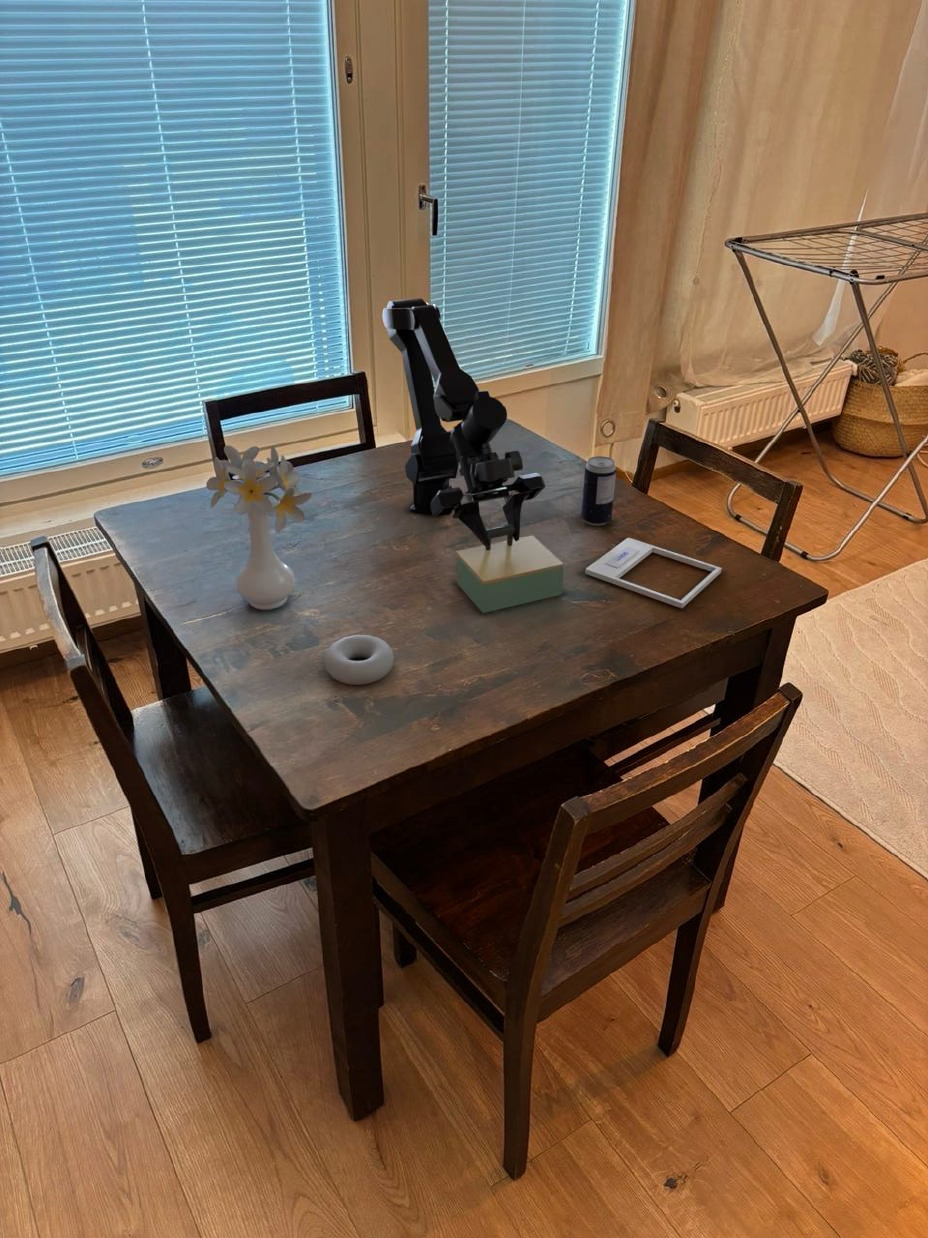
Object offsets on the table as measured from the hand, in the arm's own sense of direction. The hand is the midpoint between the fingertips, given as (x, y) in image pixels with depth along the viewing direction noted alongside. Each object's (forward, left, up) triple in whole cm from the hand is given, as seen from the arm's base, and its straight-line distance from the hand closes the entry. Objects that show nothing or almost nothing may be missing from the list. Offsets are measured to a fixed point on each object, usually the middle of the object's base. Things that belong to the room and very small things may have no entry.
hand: (502, 543), depth 150 cm
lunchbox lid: (+2, -2, -2) cm, 3 cm away
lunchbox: (+2, -2, -7) cm, 8 cm away
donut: (-11, -31, -7) cm, 34 cm away
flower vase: (-32, -19, -7) cm, 38 cm away
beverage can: (+9, +28, -7) cm, 30 cm away
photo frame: (+23, +12, -7) cm, 27 cm away
